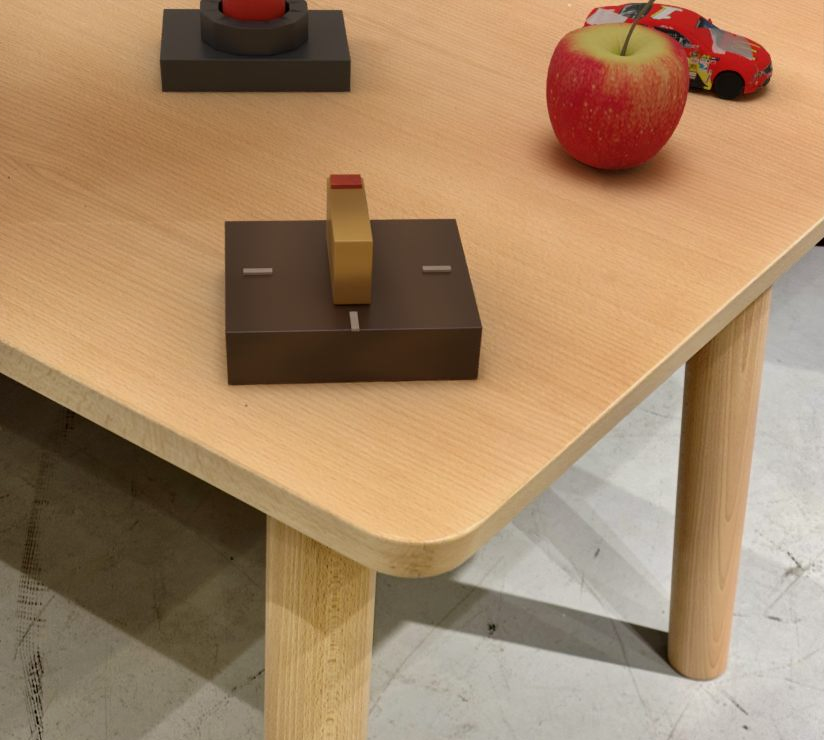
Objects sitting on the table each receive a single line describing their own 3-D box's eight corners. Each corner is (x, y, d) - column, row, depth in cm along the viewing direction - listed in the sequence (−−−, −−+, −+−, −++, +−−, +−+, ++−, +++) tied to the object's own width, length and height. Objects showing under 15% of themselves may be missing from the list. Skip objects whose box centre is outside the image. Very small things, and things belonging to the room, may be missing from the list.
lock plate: (227, 386, 65) (225, 330, 63) (226, 269, 73) (224, 216, 71) (478, 380, 67) (483, 326, 65) (451, 266, 74) (455, 214, 72)
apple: (701, 179, 83) (735, 16, 76) (576, 201, 80) (600, 34, 73) (633, 119, 88) (659, -39, 82) (514, 137, 86) (531, -24, 79)
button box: (162, 92, 88) (157, 31, 85) (165, 40, 94) (161, -19, 91) (350, 92, 89) (351, 32, 87) (342, 40, 95) (343, -18, 92)
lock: (371, 304, 66) (373, 236, 63) (333, 305, 66) (334, 236, 63) (361, 238, 70) (363, 171, 68) (326, 238, 70) (326, 172, 67)
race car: (774, 77, 94) (788, 19, 92) (760, 109, 90) (774, 50, 88) (588, 38, 97) (596, -18, 95) (567, 68, 94) (574, 10, 91)
